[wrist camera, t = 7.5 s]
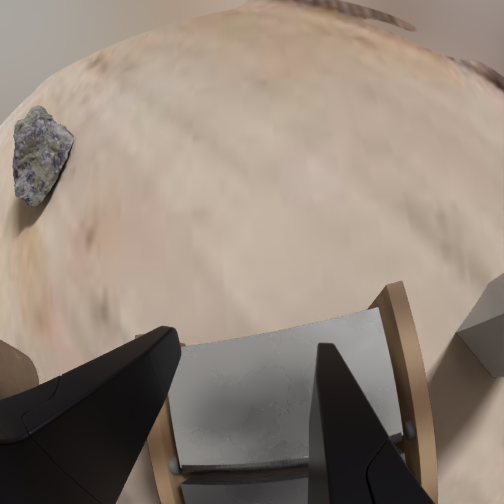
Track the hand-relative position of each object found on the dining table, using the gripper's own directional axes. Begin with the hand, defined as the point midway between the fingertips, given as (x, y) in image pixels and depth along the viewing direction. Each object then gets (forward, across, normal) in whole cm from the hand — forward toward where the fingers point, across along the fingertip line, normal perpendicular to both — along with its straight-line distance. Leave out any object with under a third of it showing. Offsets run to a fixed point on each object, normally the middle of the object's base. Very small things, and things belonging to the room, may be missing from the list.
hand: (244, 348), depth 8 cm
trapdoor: (+4, -1, +10) cm, 11 cm away
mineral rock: (+24, +35, -4) cm, 43 cm away
